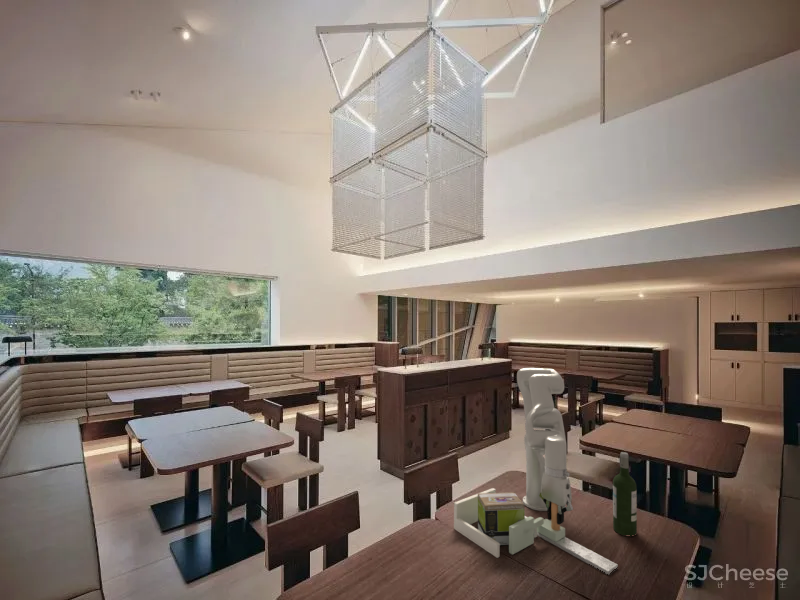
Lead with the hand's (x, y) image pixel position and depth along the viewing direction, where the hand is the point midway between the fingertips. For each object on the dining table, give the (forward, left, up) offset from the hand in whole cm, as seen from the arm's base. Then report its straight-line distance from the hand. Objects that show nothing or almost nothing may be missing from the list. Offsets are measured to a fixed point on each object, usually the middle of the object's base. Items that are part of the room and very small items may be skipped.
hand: (555, 520), depth 142 cm
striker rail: (0, +1, -7) cm, 7 cm away
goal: (+15, -15, -7) cm, 23 cm away
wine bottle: (-28, +12, -7) cm, 31 cm away
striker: (+9, -2, -7) cm, 11 cm away
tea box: (+16, -12, -7) cm, 22 cm away
